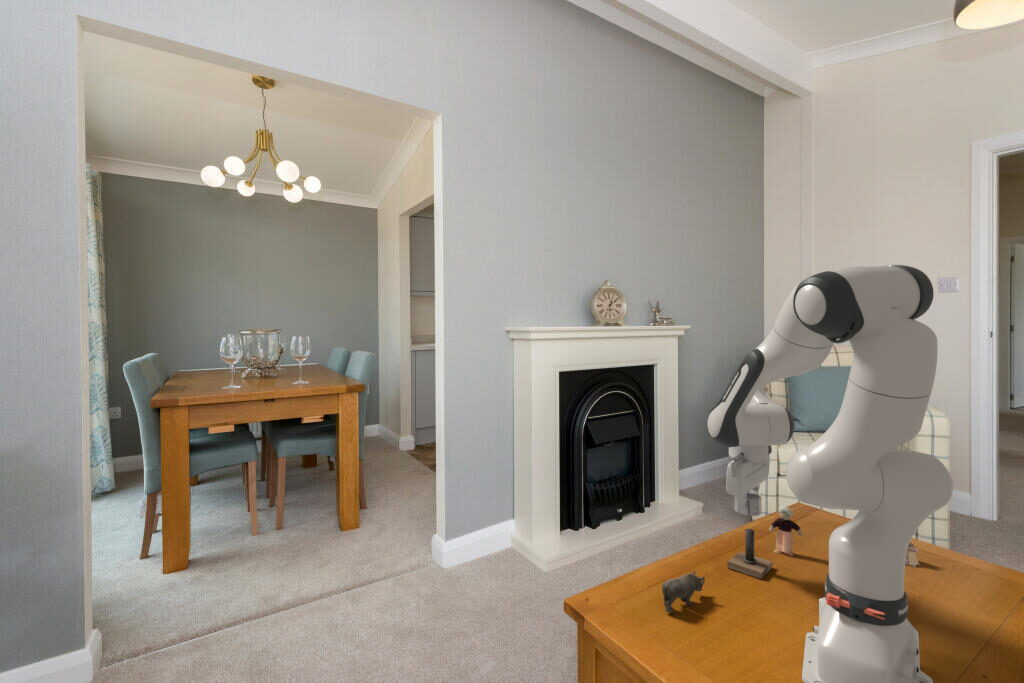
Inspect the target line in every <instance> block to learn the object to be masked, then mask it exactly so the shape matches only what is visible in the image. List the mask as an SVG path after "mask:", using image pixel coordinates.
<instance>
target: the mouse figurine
mask: <svg viewBox="0 0 1024 683" xmlns="http://www.w3.org/2000/svg"><path fill="white" fill-rule="evenodd" d="M918 552H919V549H918V548H917V547H916V546H915V545H914V544H913V543H911V542H910V543H909V546H908V549H907V553H906V560H905V566H910V567H913V568H916V567H917V566H921V564H920V563H919V559H918V558H919V557H918V554H917V553H918Z"/></svg>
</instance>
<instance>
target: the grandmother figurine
mask: <svg viewBox="0 0 1024 683" xmlns="http://www.w3.org/2000/svg"><path fill="white" fill-rule="evenodd" d="M778 514H779V516H780V517H779V518H776V519H775V520H774V521H773V522H772V523H771V525H770V526H769V529H768V531H769V532H771V533H772V532H774V530H775V528H777V530H776V539H775V541H776V542H775V549H774V550H773V553H775V554H779V555H782V554H783V553H784V554H785V555H786V556H790V557H792V556H794V553H793V552H792V551H793V548H794V547H793V546H794V545H793V544H794V537H793V536H794V534H793V530H794V531H796V533H797V535H798V536H800V537H802V536H803V532H802V530H801V527H800V526H799V524H797V523H796V522H795V521H793V520H791V517H793V515H794V513H793V511H792V510H791V508H790V507H788V506H786V505H781V506H780V507H779V508H778Z"/></svg>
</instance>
